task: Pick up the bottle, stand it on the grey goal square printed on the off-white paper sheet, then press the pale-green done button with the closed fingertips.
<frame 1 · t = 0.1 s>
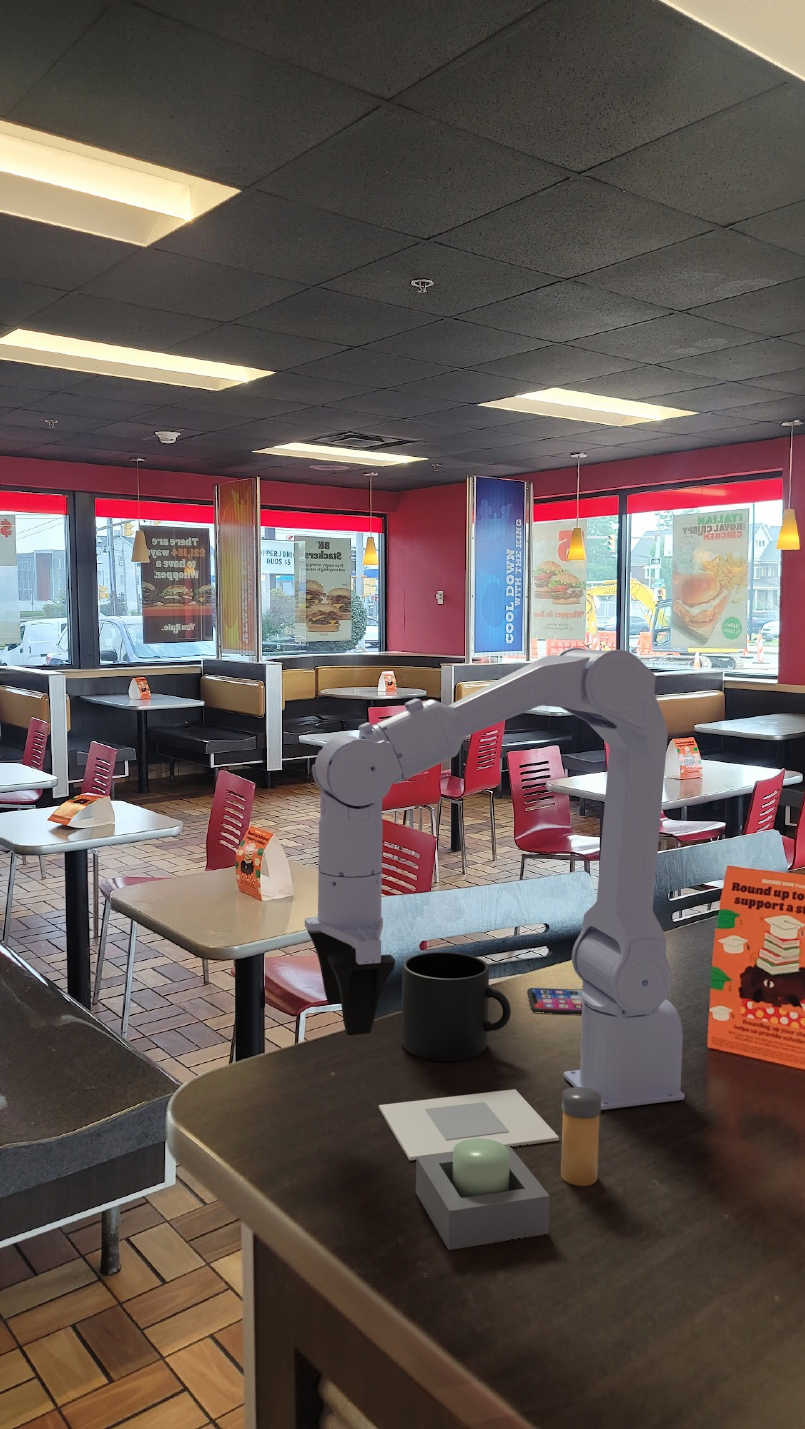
hand: (348, 1017, 94), 10 cm above the table, fingers open, 7 cm apart
smartphone: (590, 1008, 127), on the table
button housing: (479, 1212, 80), on the table
done button: (481, 1170, 80), point 3 cm above the table, slide at 0.0 cm
bottle: (578, 1176, 86), on the table
paper: (466, 1123, 95), on the table
mug: (455, 1048, 113), on the table
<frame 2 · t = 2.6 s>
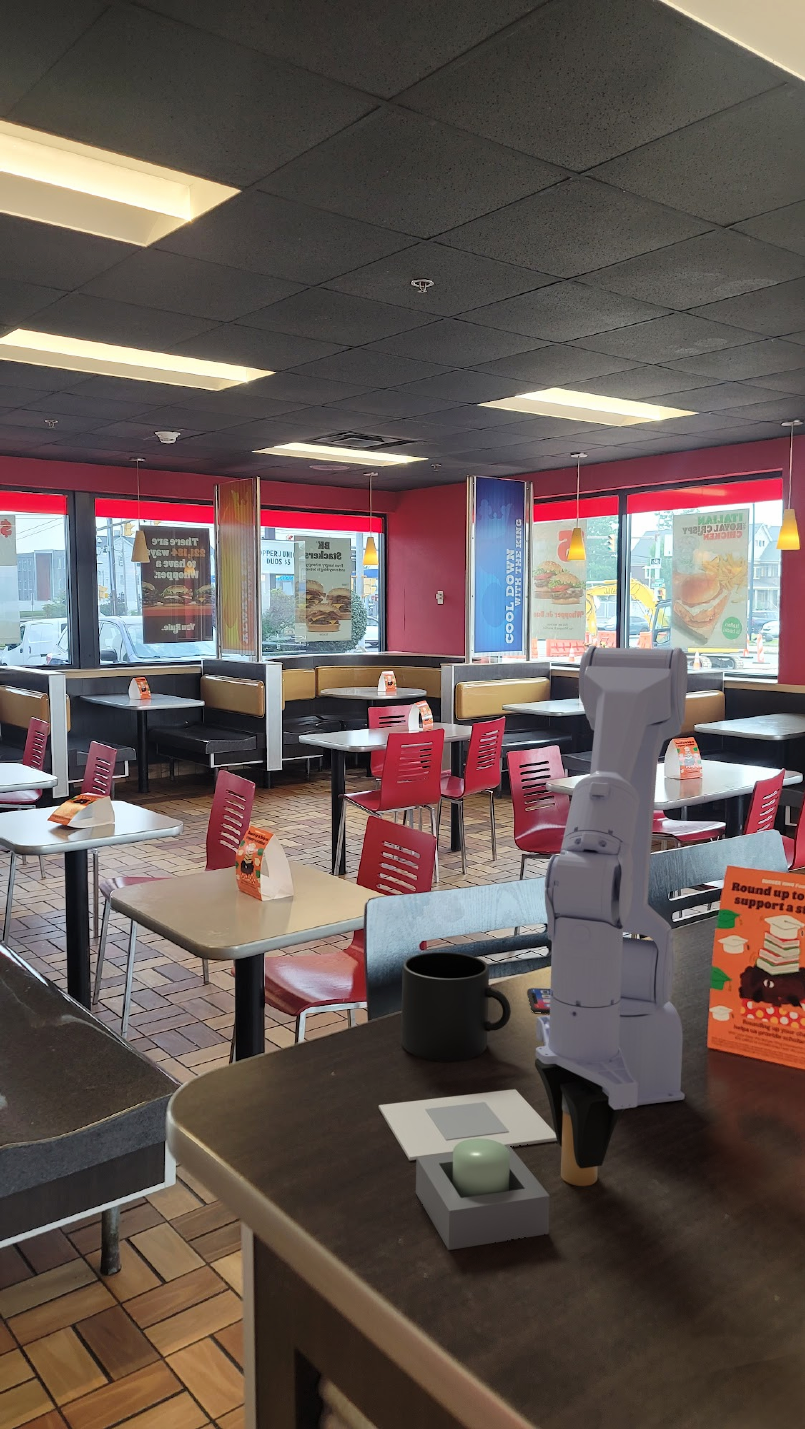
hand: (579, 1154, 86), 2 cm above the table, fingers closed on bottle, 3 cm apart
bottle: (578, 1176, 86), on the table, touching gripper
everything else where it was.
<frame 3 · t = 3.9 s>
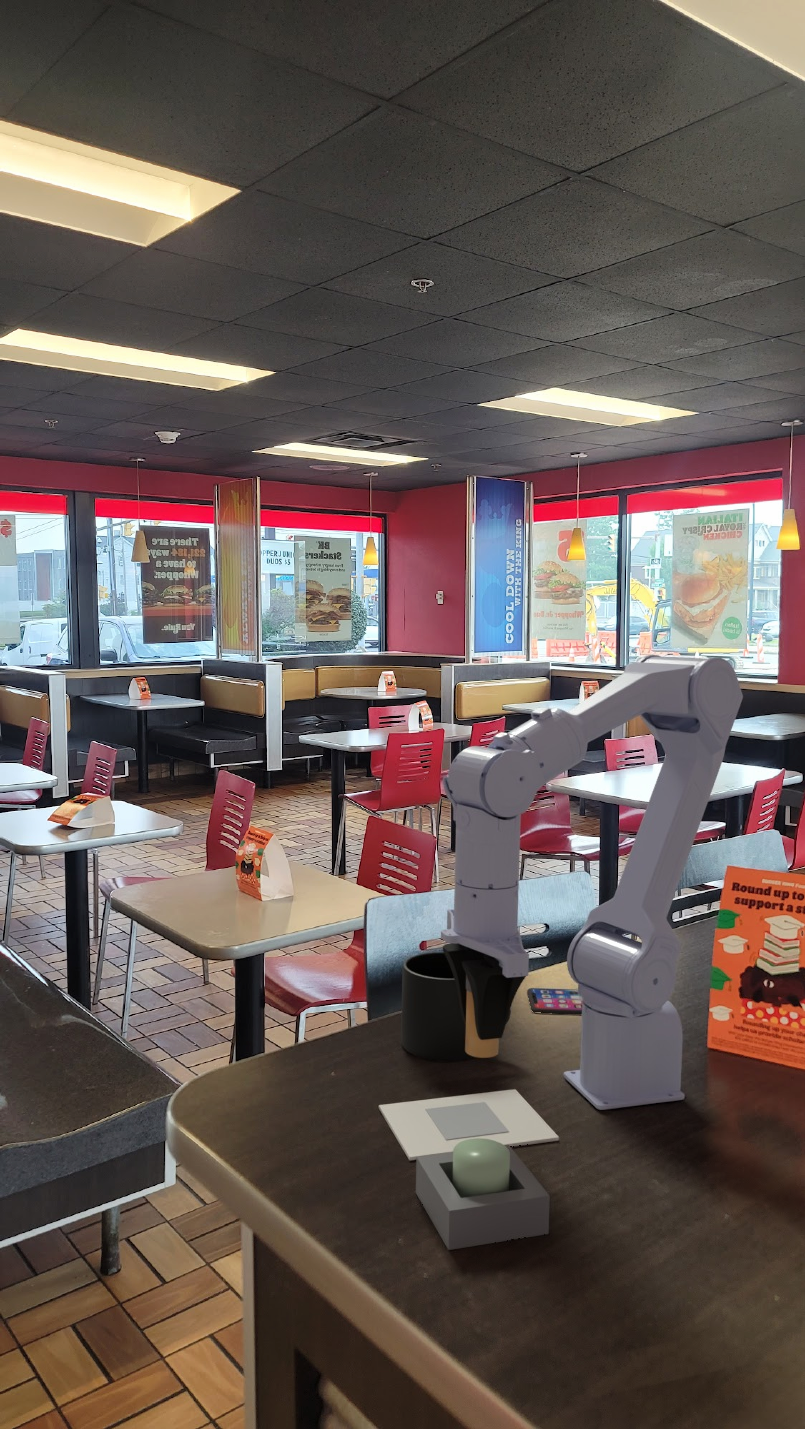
hand: (482, 1029, 93), 9 cm above the table, fingers closed on bottle, 3 cm apart
bottle: (481, 1050, 93), point 7 cm above the table, touching gripper
everything else where it was.
when the fingers open (3 cm above the table, at t = 5.6 s): bottle stays where it is, resting on paper.
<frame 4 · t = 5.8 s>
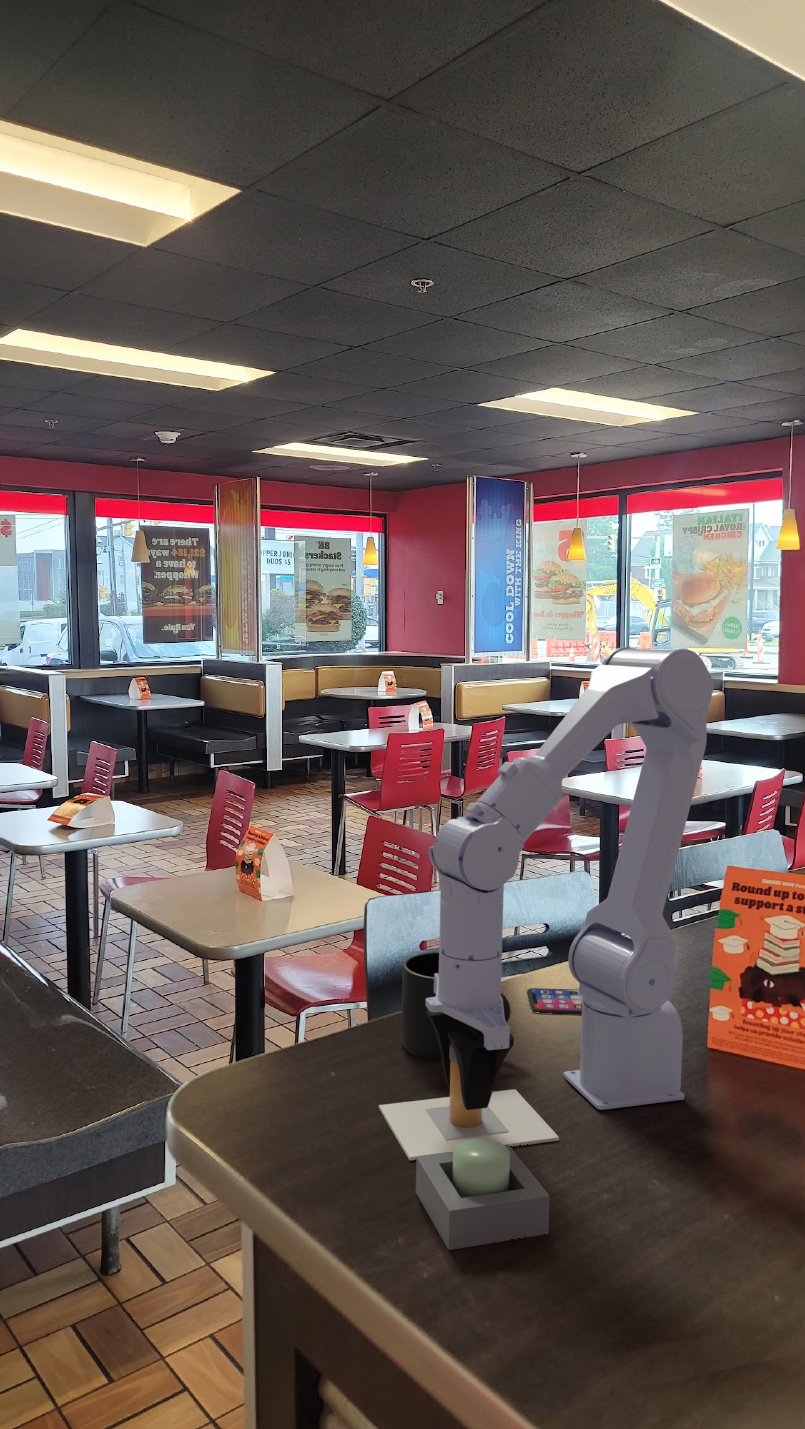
hand: (466, 1095, 95), 3 cm above the table, fingers open, 4 cm apart
bottle: (465, 1119, 95), resting on paper
everything else where it was.
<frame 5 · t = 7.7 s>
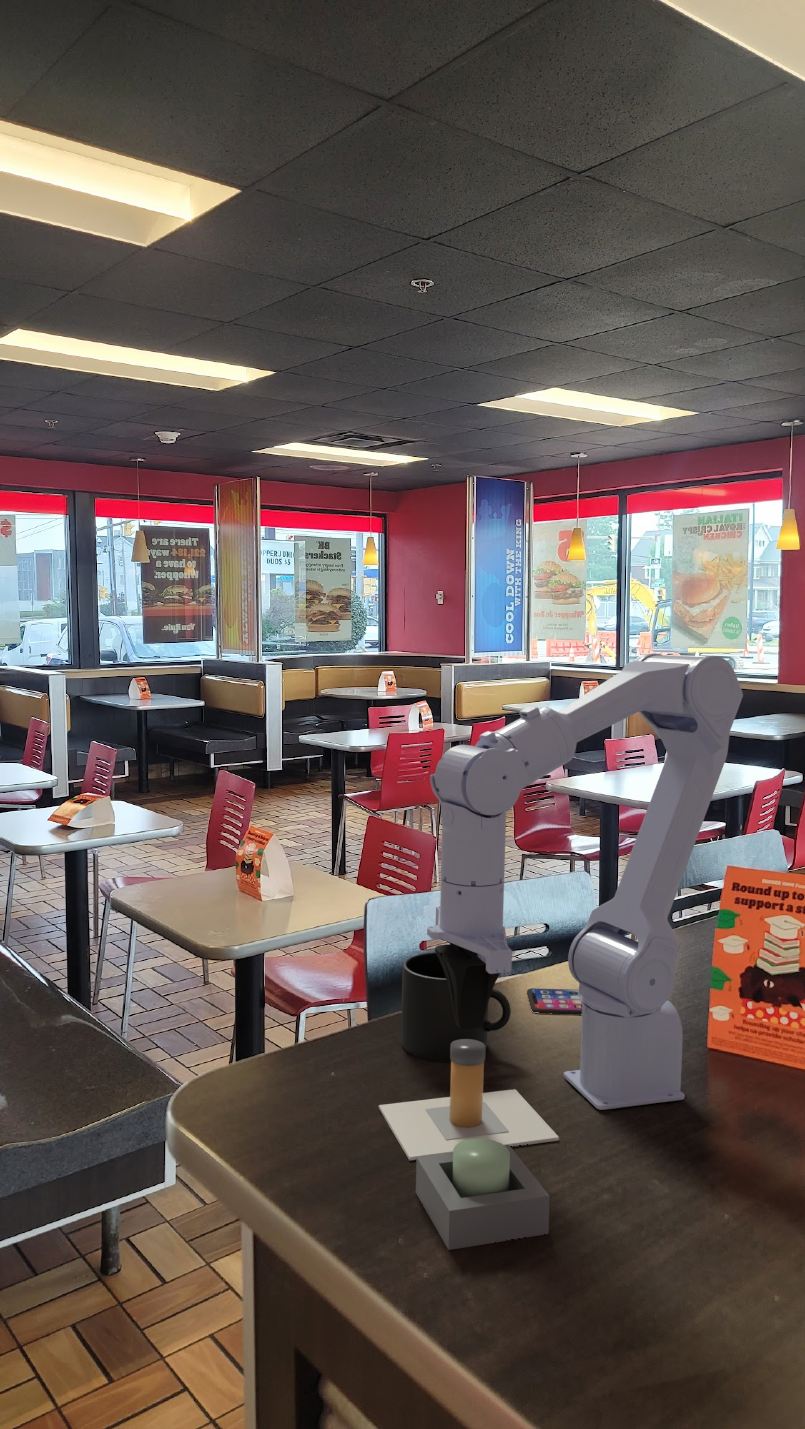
hand: (468, 1025, 94), 9 cm above the table, fingers closed
nothing on the table moved.
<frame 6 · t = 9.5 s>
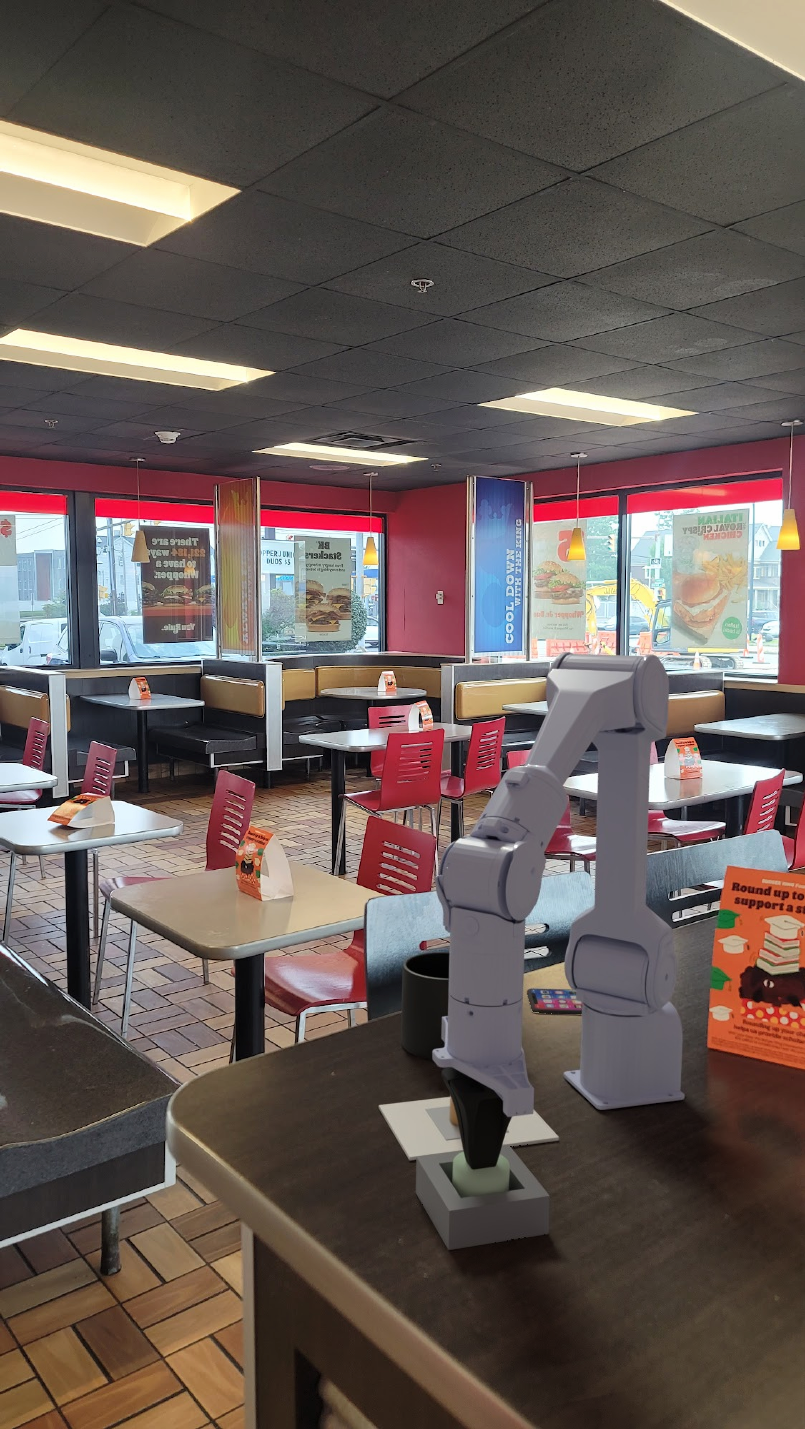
hand: (481, 1164, 80), 4 cm above the table, fingers closed, pressing on done button
done button: (480, 1181, 80), point 2 cm above the table, slide at 0.9 cm, touching gripper
everything else where it was.
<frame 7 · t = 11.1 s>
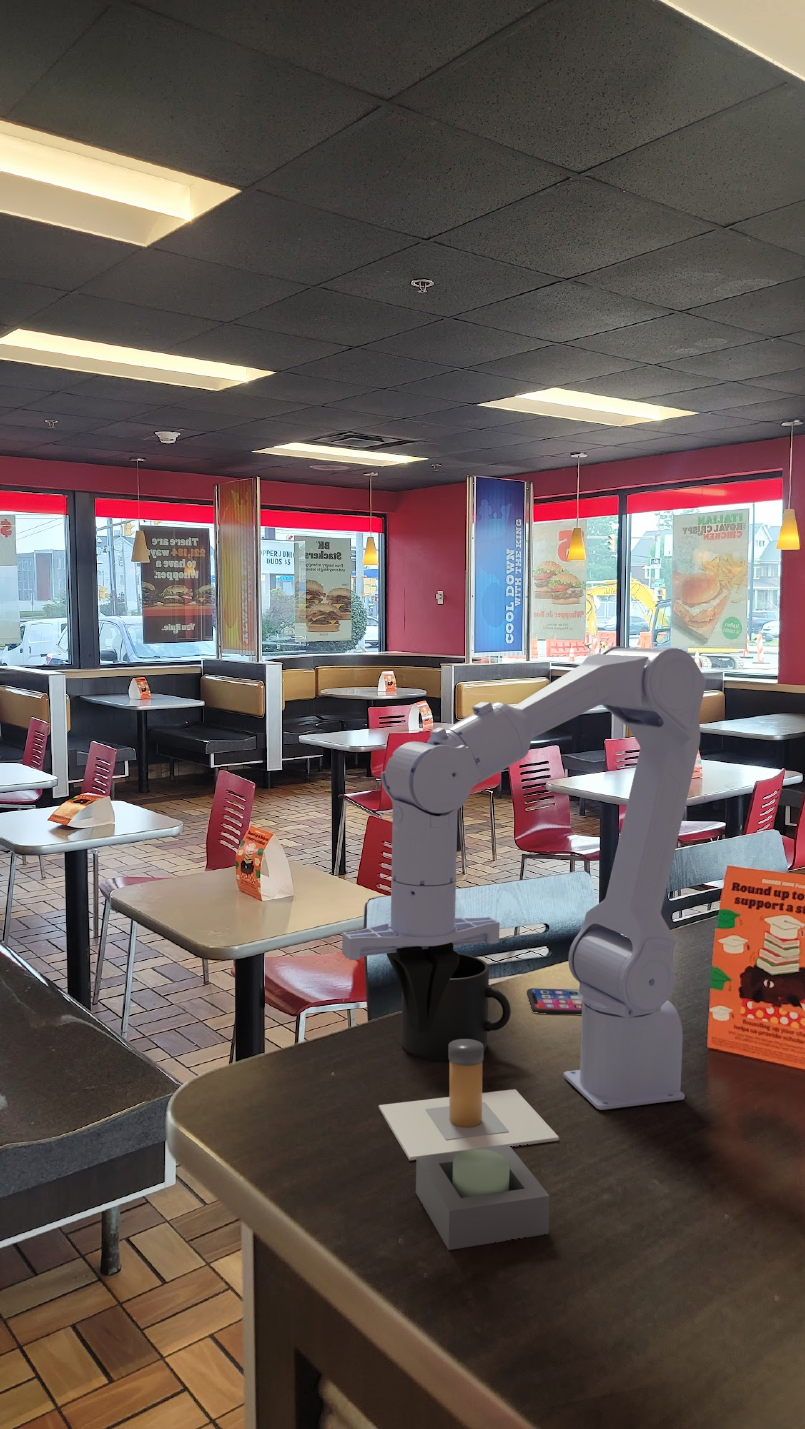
hand: (420, 1028, 92), 10 cm above the table, fingers closed
done button: (480, 1181, 80), point 2 cm above the table, slide at 0.9 cm
everything else where it was.
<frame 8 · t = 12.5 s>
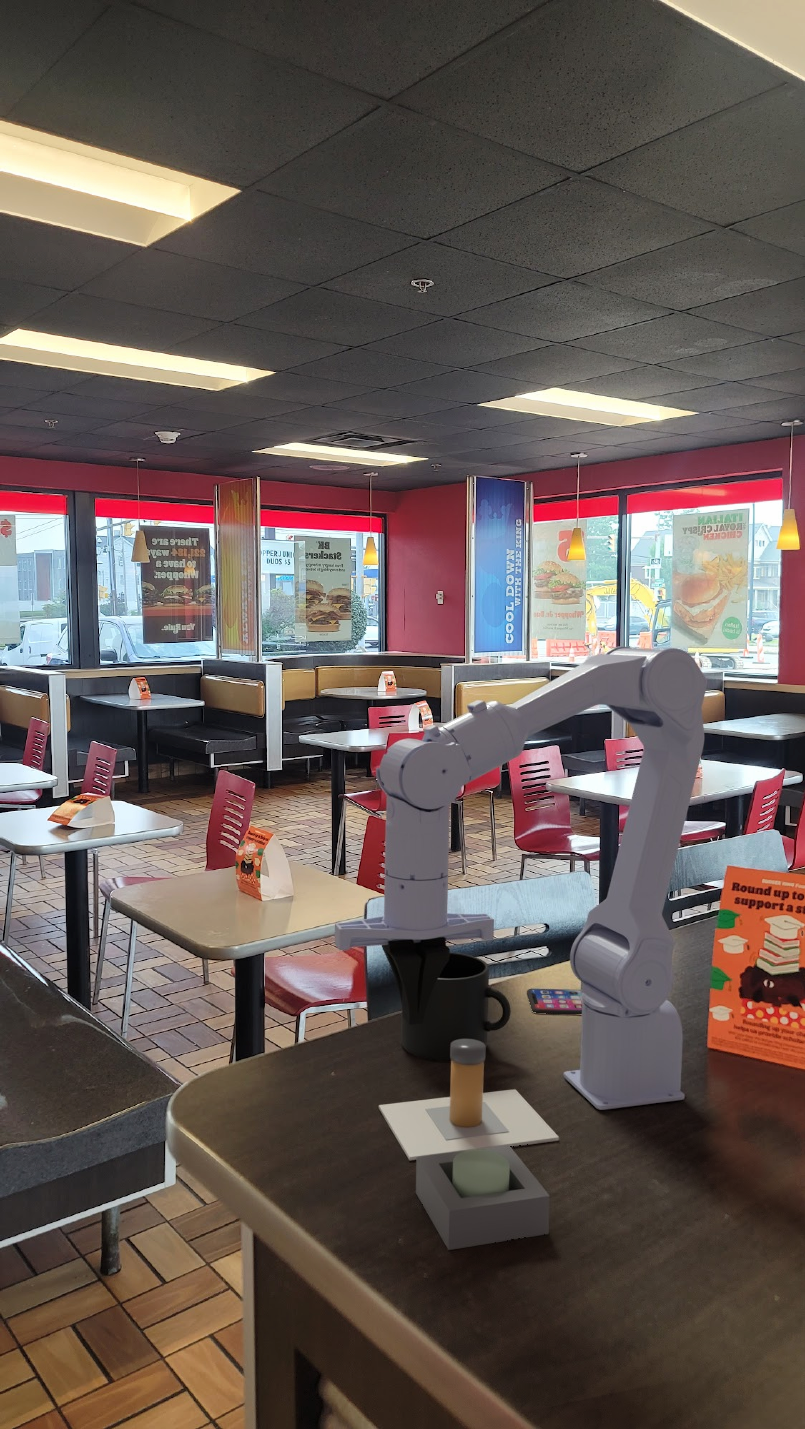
hand: (413, 1020, 94), 10 cm above the table, fingers closed
nothing on the table moved.
at the end: bottle inside the target area on the paper (0.1 cm from its centre), point 0.4 cm above the paper's base; bottle tilted 1°; done button slide at 0.9 cm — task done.
